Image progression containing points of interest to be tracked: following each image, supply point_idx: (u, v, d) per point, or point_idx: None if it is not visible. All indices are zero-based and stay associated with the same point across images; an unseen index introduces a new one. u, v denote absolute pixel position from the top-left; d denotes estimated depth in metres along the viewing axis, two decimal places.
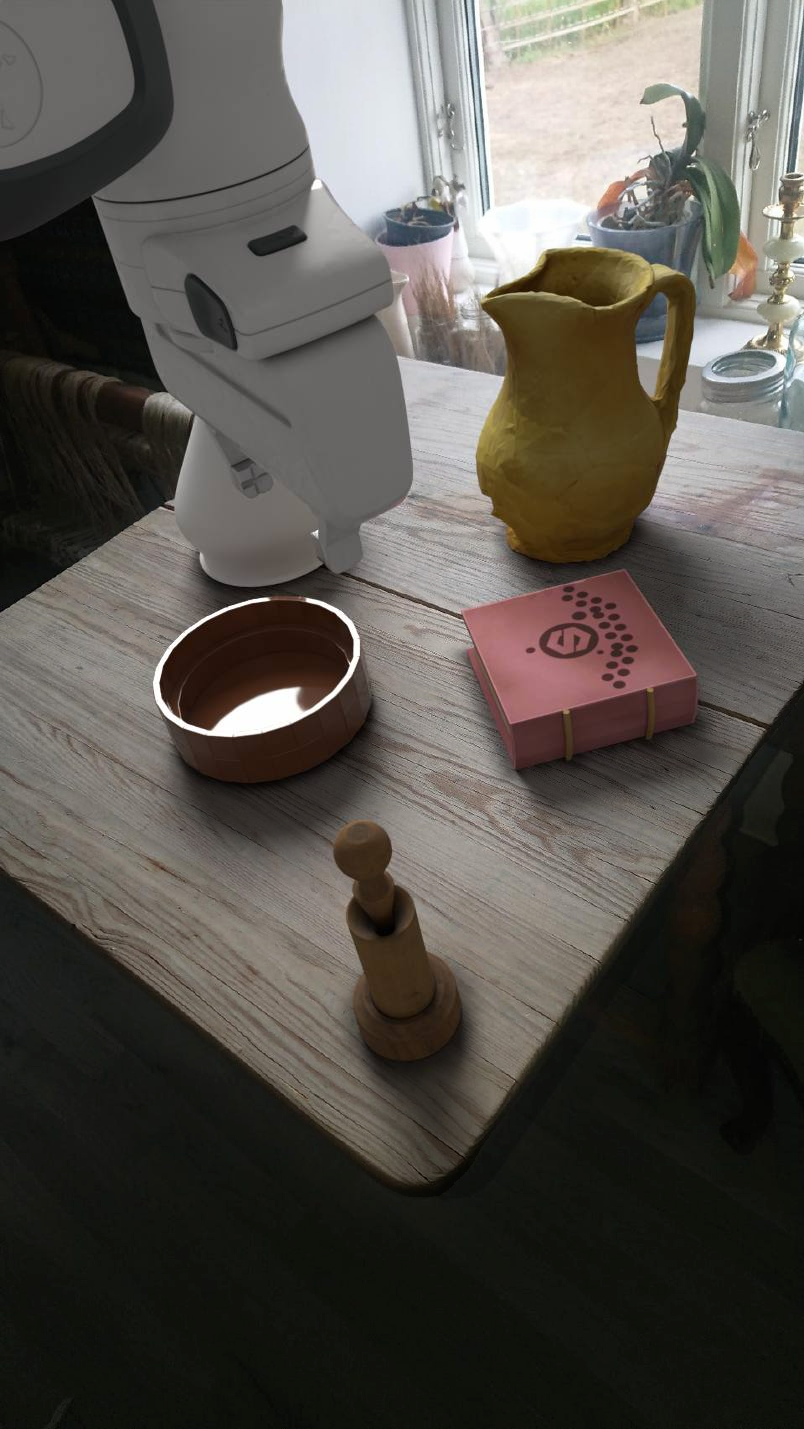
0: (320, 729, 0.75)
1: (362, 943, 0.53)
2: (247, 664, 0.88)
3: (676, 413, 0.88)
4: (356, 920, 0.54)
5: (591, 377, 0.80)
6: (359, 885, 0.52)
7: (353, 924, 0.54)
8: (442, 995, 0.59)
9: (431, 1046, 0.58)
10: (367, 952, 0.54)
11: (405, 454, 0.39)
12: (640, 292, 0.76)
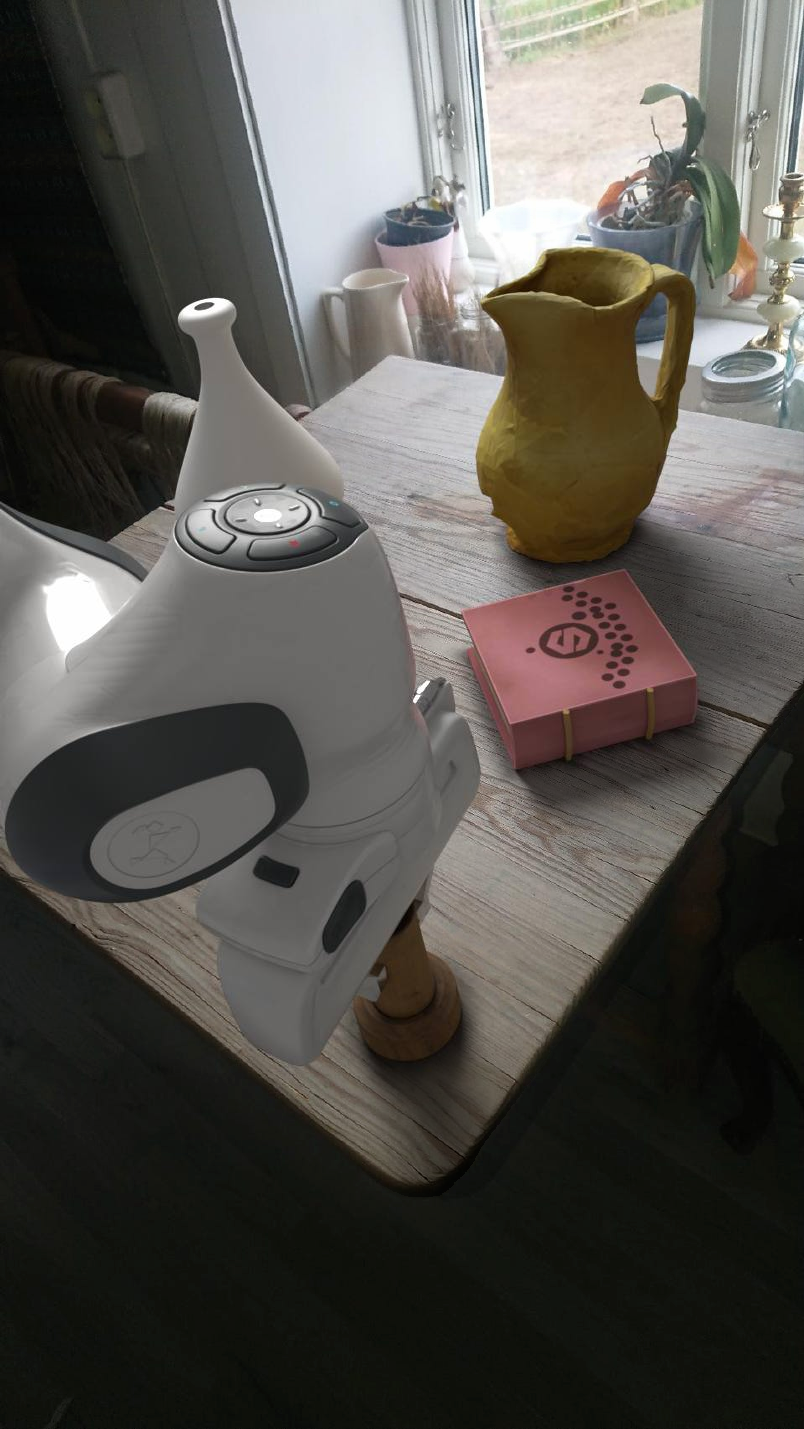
0: None
1: None
2: None
3: (676, 413, 0.88)
4: None
5: (591, 377, 0.80)
6: None
7: None
8: (442, 995, 0.59)
9: (431, 1046, 0.58)
10: None
11: (294, 1051, 0.45)
12: (640, 292, 0.76)
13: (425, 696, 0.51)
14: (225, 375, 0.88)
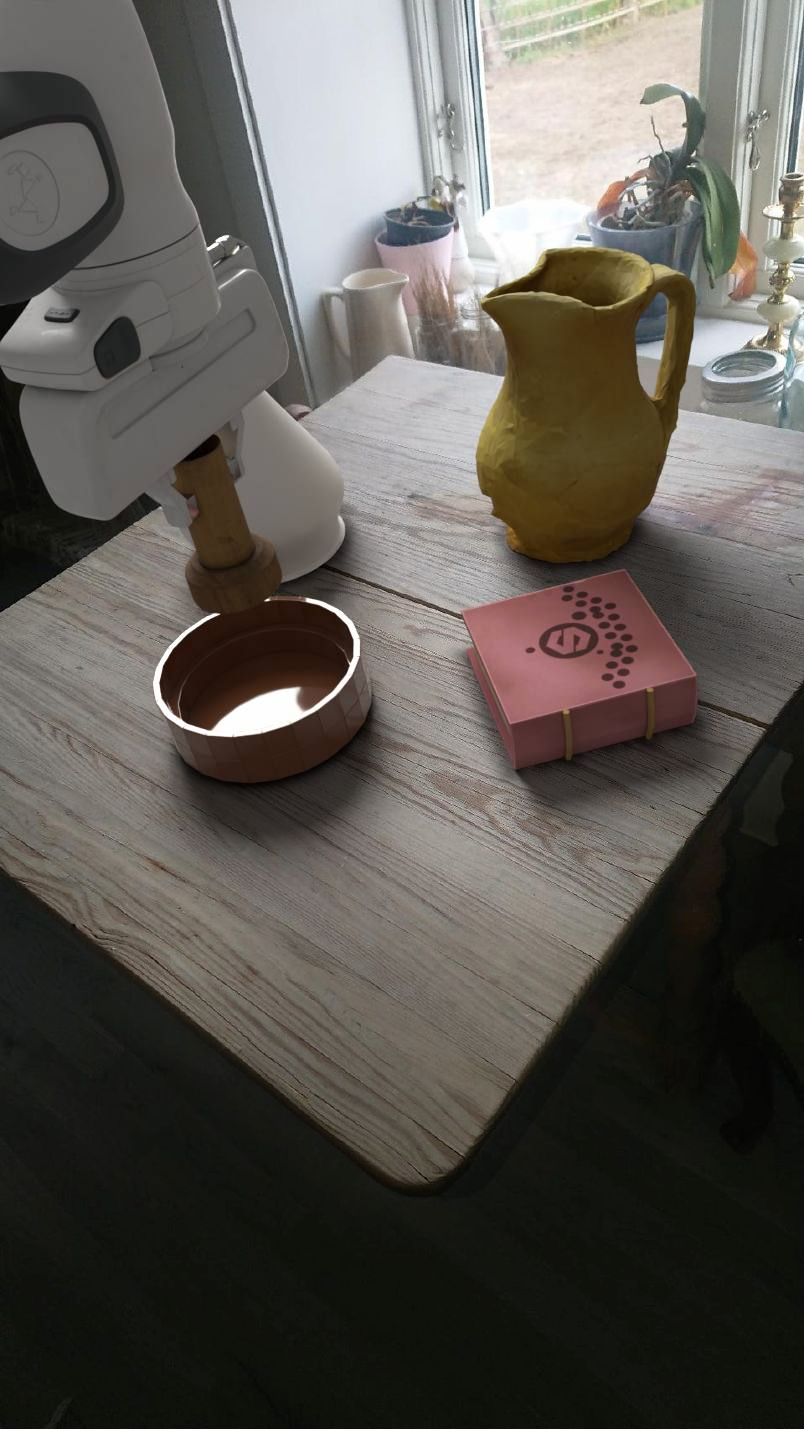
0: (320, 729, 0.75)
1: (173, 468, 0.61)
2: (247, 664, 0.88)
3: (676, 413, 0.88)
4: None
5: (591, 377, 0.80)
6: None
7: None
8: (259, 553, 0.67)
9: (249, 596, 0.67)
10: (178, 480, 0.62)
11: (86, 489, 0.54)
12: (640, 292, 0.76)
13: (221, 243, 0.60)
14: None
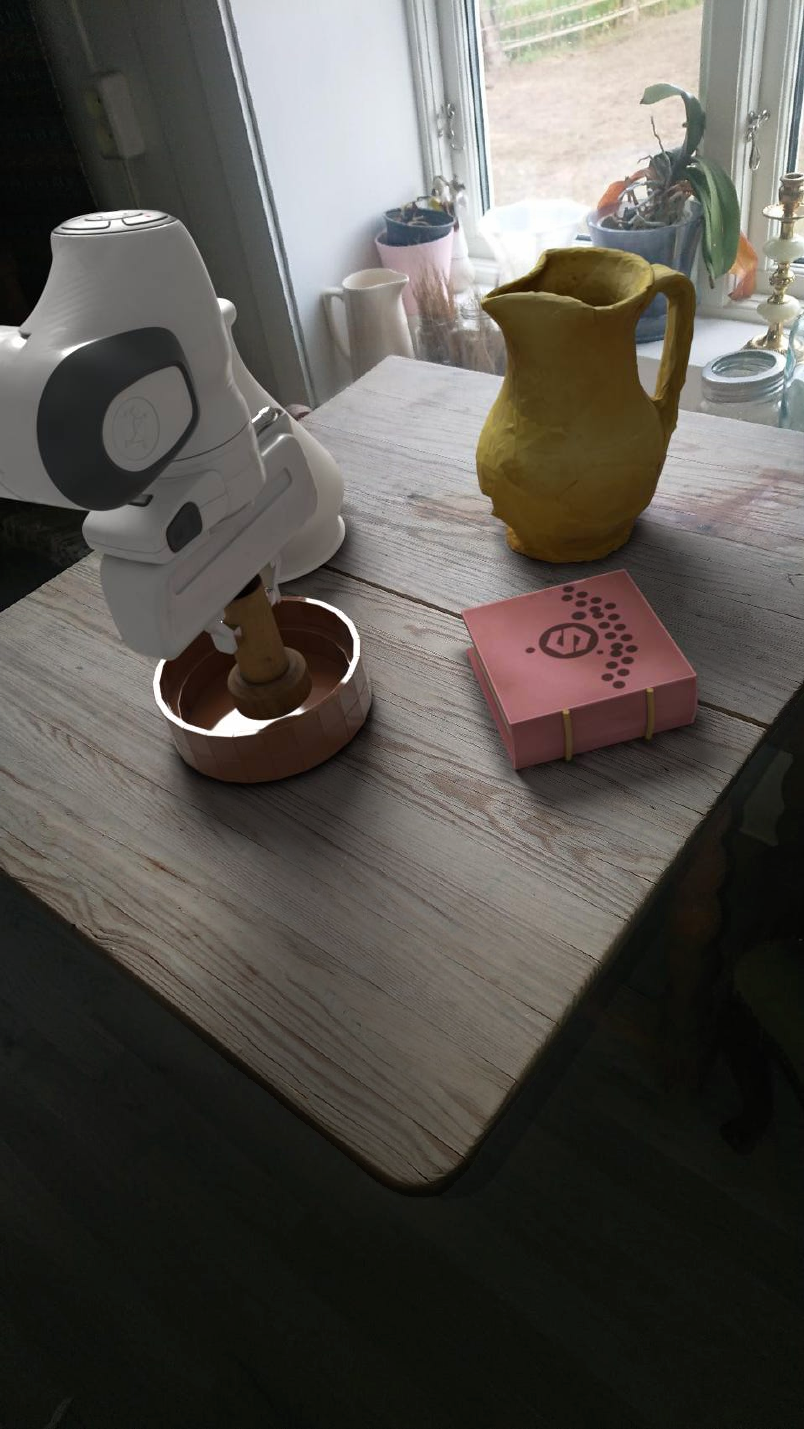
0: (320, 729, 0.75)
1: None
2: None
3: (676, 413, 0.88)
4: None
5: (591, 377, 0.80)
6: None
7: None
8: (293, 668, 0.77)
9: (284, 706, 0.77)
10: (226, 614, 0.72)
11: (155, 639, 0.64)
12: (640, 292, 0.76)
13: (263, 415, 0.70)
14: None
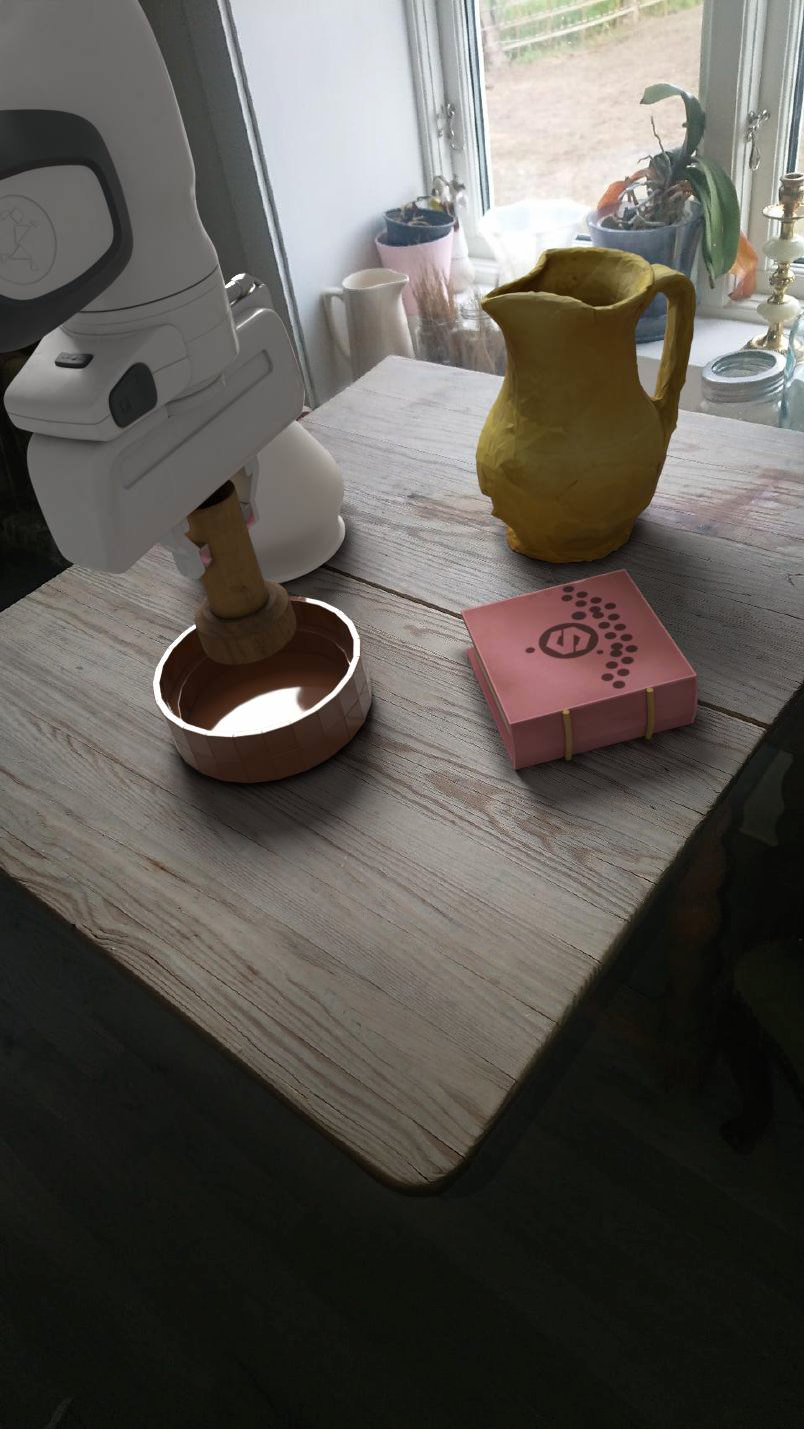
0: (320, 729, 0.75)
1: None
2: (247, 664, 0.88)
3: (676, 413, 0.88)
4: None
5: (591, 377, 0.80)
6: None
7: None
8: (273, 601, 0.64)
9: (262, 647, 0.64)
10: (191, 528, 0.59)
11: (98, 543, 0.50)
12: (640, 292, 0.76)
13: (237, 282, 0.57)
14: None
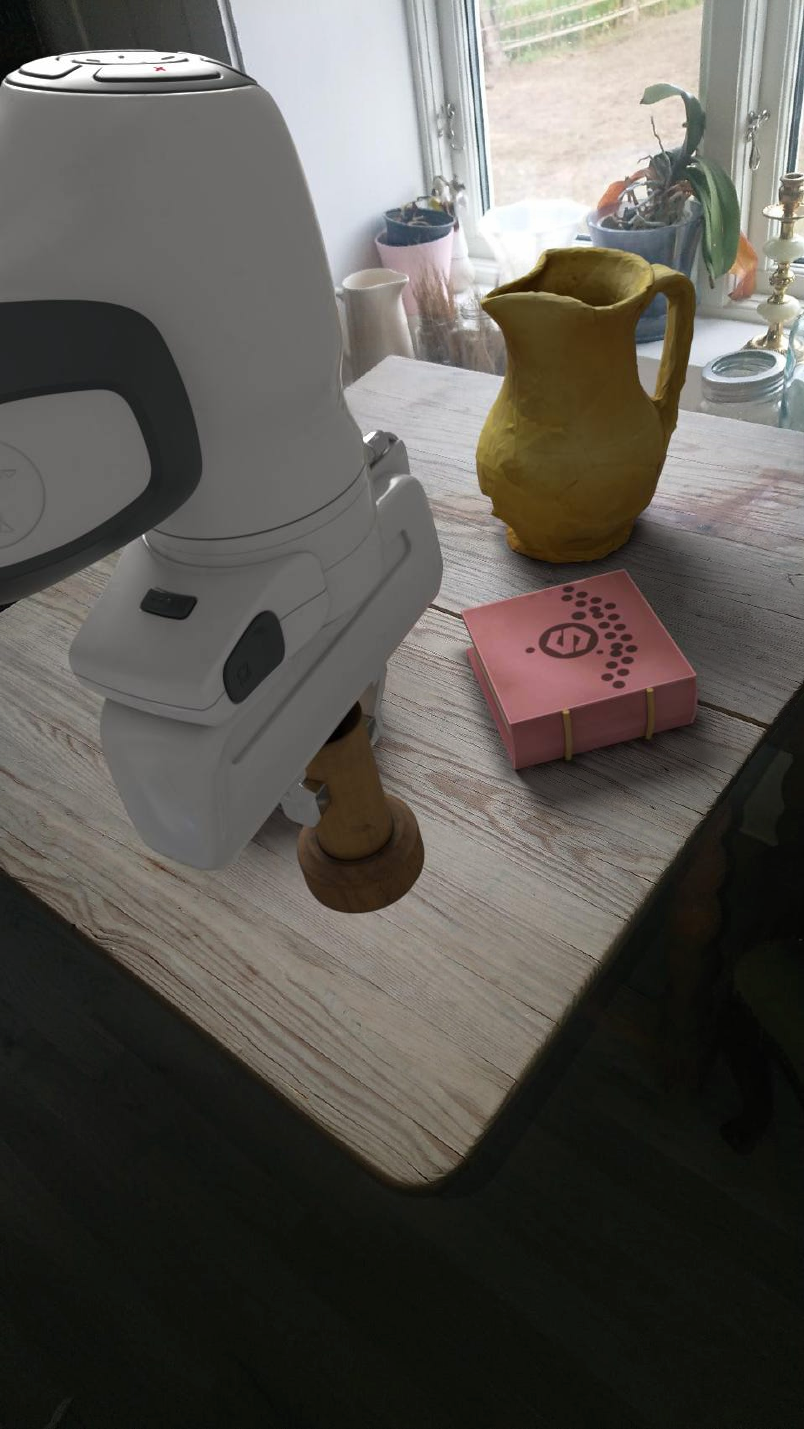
0: None
1: None
2: None
3: (676, 413, 0.88)
4: None
5: (591, 377, 0.80)
6: None
7: None
8: (400, 834, 0.50)
9: (387, 894, 0.49)
10: None
11: (198, 845, 0.36)
12: (640, 292, 0.76)
13: (371, 445, 0.42)
14: None
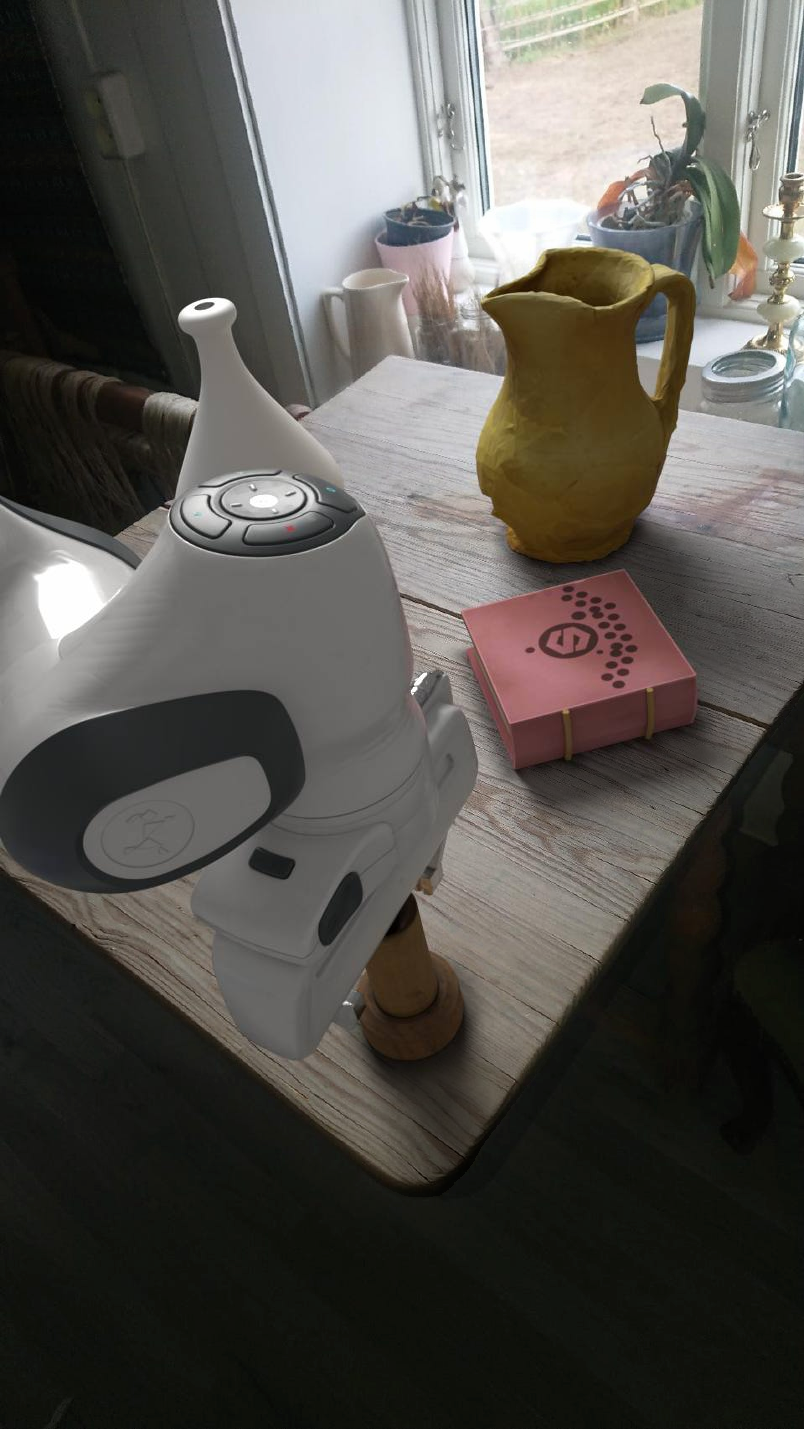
0: None
1: None
2: None
3: (676, 413, 0.88)
4: None
5: (591, 377, 0.80)
6: None
7: None
8: (445, 994, 0.59)
9: (433, 1045, 0.58)
10: None
11: (290, 1045, 0.45)
12: (640, 292, 0.76)
13: (422, 688, 0.51)
14: (225, 375, 0.88)
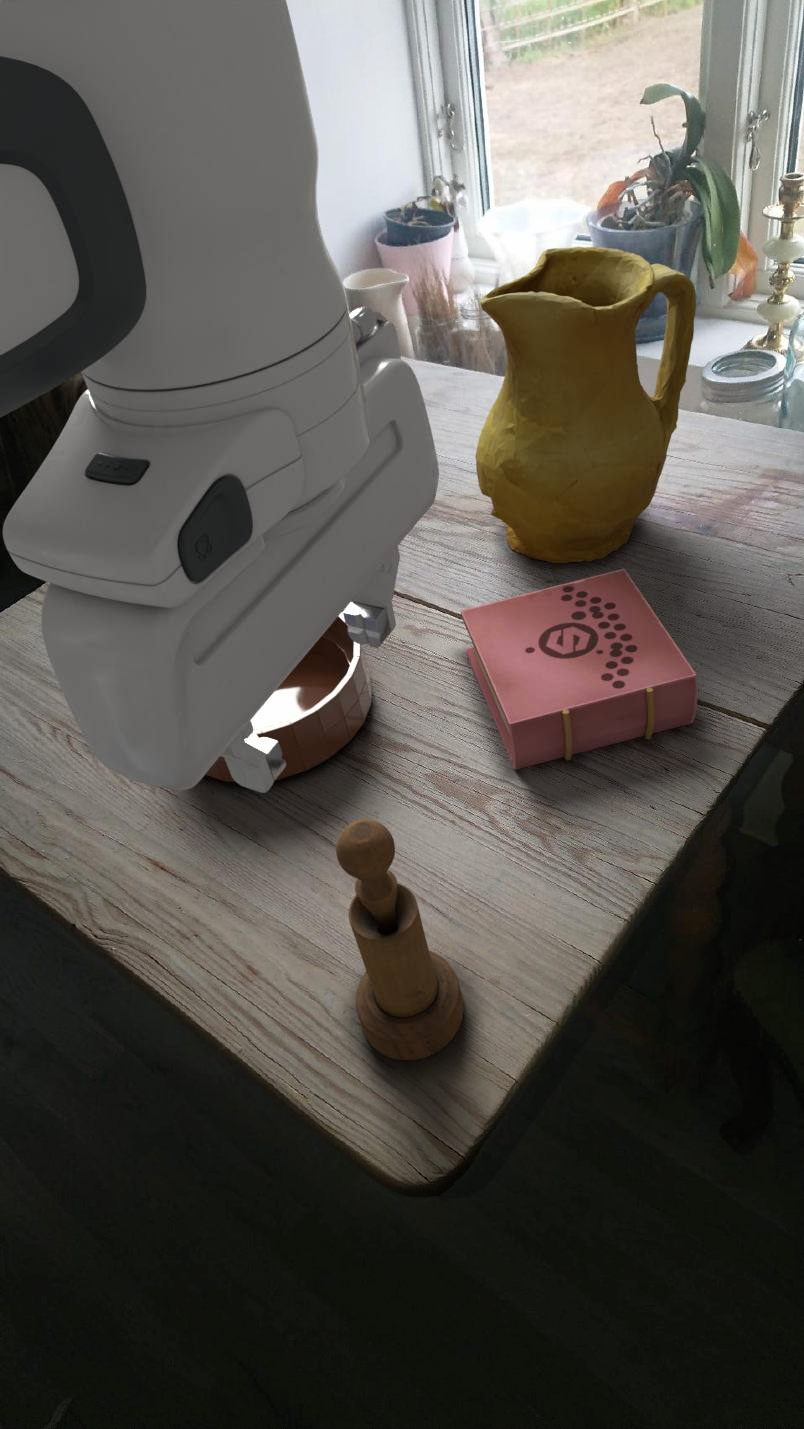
0: (320, 729, 0.75)
1: (365, 942, 0.53)
2: None
3: (676, 413, 0.88)
4: (359, 919, 0.54)
5: (591, 377, 0.80)
6: (362, 884, 0.52)
7: (355, 923, 0.54)
8: (445, 994, 0.59)
9: (433, 1045, 0.58)
10: (369, 951, 0.54)
11: (155, 755, 0.31)
12: (640, 292, 0.76)
13: (356, 321, 0.38)
14: None
